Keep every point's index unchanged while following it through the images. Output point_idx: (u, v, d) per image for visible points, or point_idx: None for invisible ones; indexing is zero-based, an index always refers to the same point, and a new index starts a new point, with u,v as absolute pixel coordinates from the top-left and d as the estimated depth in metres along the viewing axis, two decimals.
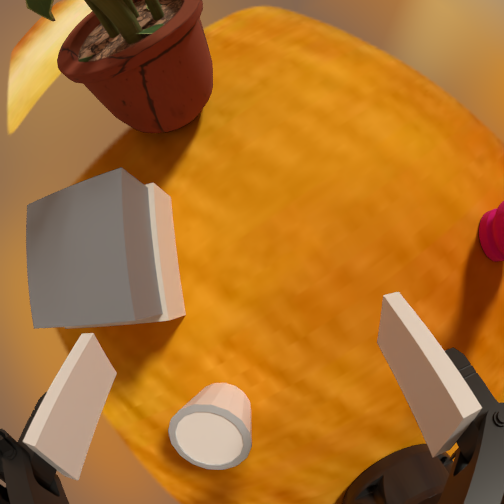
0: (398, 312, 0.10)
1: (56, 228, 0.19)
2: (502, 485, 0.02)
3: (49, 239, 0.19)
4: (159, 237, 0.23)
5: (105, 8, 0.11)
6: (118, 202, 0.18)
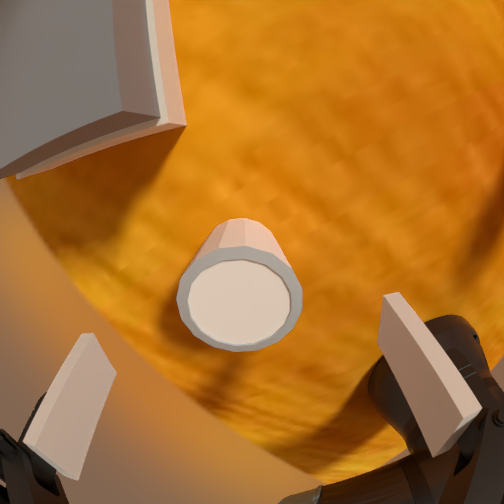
0: (398, 312, 0.10)
1: (2, 31, 0.06)
2: (502, 485, 0.02)
3: None
4: (156, 16, 0.11)
5: None
6: None
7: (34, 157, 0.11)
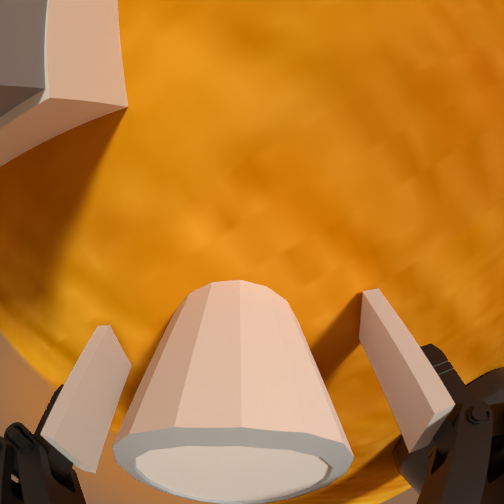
0: (376, 308, 0.10)
1: None
2: (481, 483, 0.03)
3: None
4: None
5: None
6: None
7: None
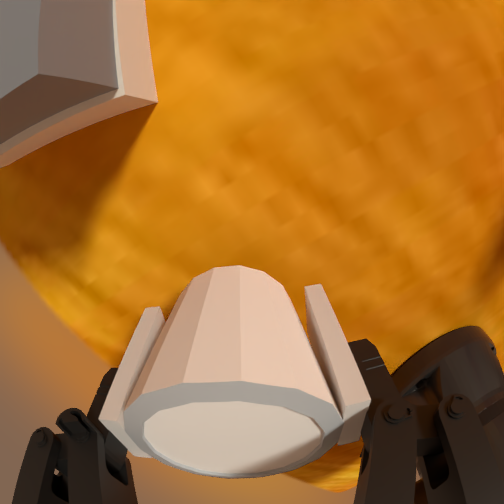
0: (312, 302, 0.11)
1: None
2: (410, 483, 0.04)
3: None
4: None
5: None
6: None
7: None
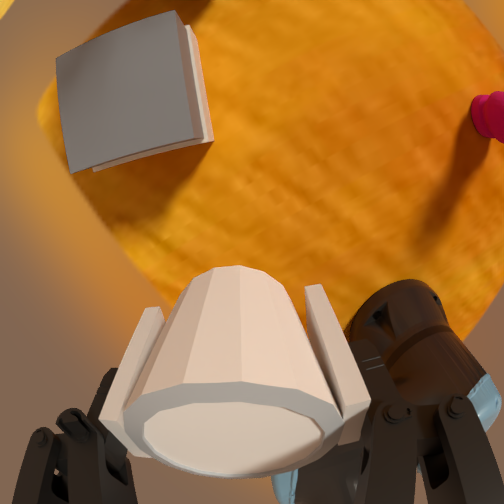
0: (313, 302, 0.11)
1: (97, 69, 0.16)
2: (410, 483, 0.04)
3: (88, 82, 0.16)
4: (197, 70, 0.21)
5: None
6: (174, 38, 0.16)
7: (123, 156, 0.21)
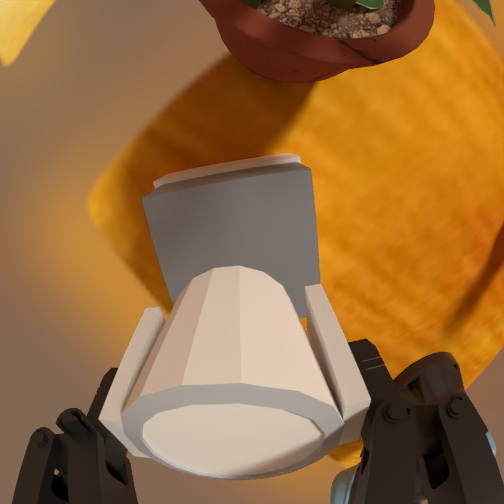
0: (312, 302, 0.11)
1: (212, 233, 0.18)
2: (410, 483, 0.04)
3: (201, 246, 0.19)
4: None
5: None
6: (310, 211, 0.18)
7: None
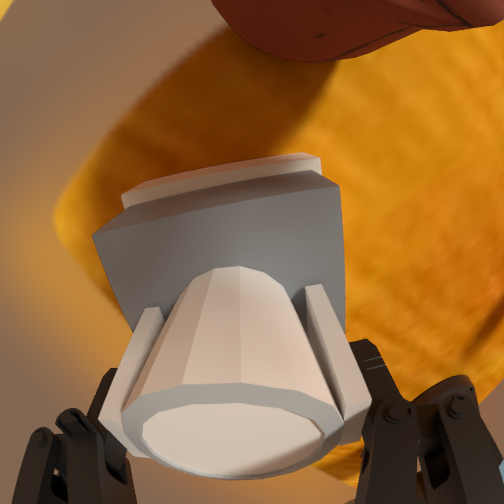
0: (313, 302, 0.11)
1: None
2: (411, 483, 0.04)
3: None
4: None
5: None
6: (337, 248, 0.12)
7: None
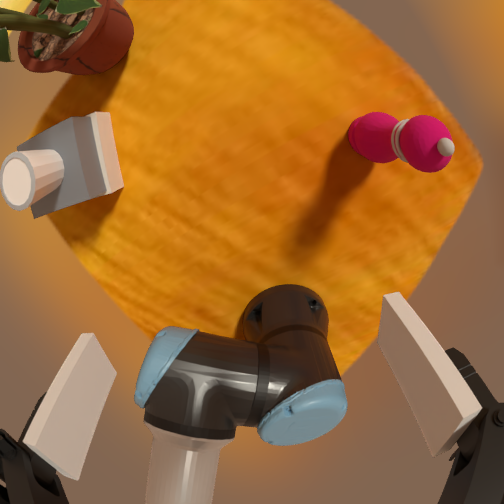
0: (398, 312, 0.10)
1: None
2: (502, 485, 0.02)
3: None
4: (102, 144, 0.33)
5: (43, 32, 0.15)
6: (73, 137, 0.27)
7: None
